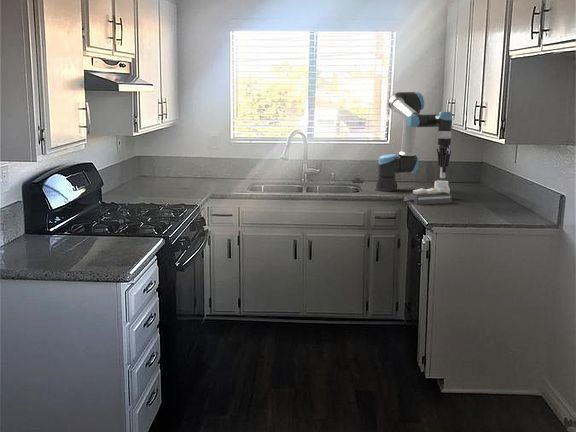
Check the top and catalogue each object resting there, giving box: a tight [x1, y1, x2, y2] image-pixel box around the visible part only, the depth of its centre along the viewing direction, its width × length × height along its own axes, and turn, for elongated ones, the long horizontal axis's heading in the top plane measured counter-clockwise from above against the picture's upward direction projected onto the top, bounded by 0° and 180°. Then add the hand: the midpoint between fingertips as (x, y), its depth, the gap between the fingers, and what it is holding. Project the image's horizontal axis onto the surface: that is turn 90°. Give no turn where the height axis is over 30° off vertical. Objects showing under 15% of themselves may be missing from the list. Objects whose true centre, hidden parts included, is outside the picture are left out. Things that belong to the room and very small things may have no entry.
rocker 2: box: [424, 187, 437, 194], centre depth 383 cm, size 5×6×2 cm
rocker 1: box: [412, 187, 426, 194], centre depth 381 cm, size 5×6×2 cm
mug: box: [433, 179, 451, 194], centre depth 399 cm, size 12×8×10 cm
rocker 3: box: [436, 188, 449, 193], centre depth 386 cm, size 5×6×2 cm
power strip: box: [402, 192, 453, 206], centre depth 383 cm, size 9×29×5 cm, turn 106°
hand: (442, 177), depth 384 cm, fingers closed
